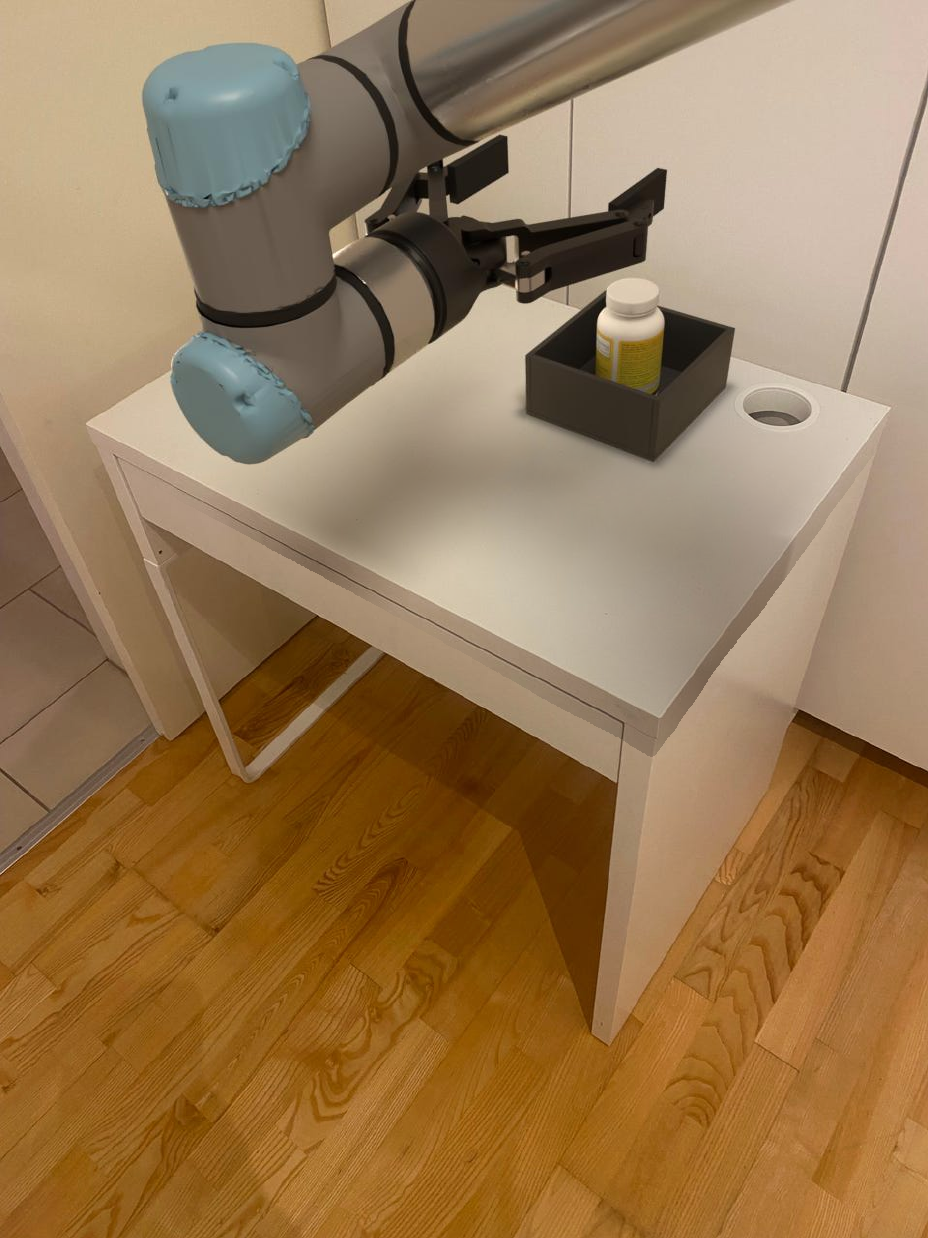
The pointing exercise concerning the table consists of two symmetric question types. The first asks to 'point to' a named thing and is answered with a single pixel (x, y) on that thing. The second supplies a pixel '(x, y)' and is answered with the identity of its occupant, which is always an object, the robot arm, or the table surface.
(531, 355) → the basket
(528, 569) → the table surface
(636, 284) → the pill bottle
